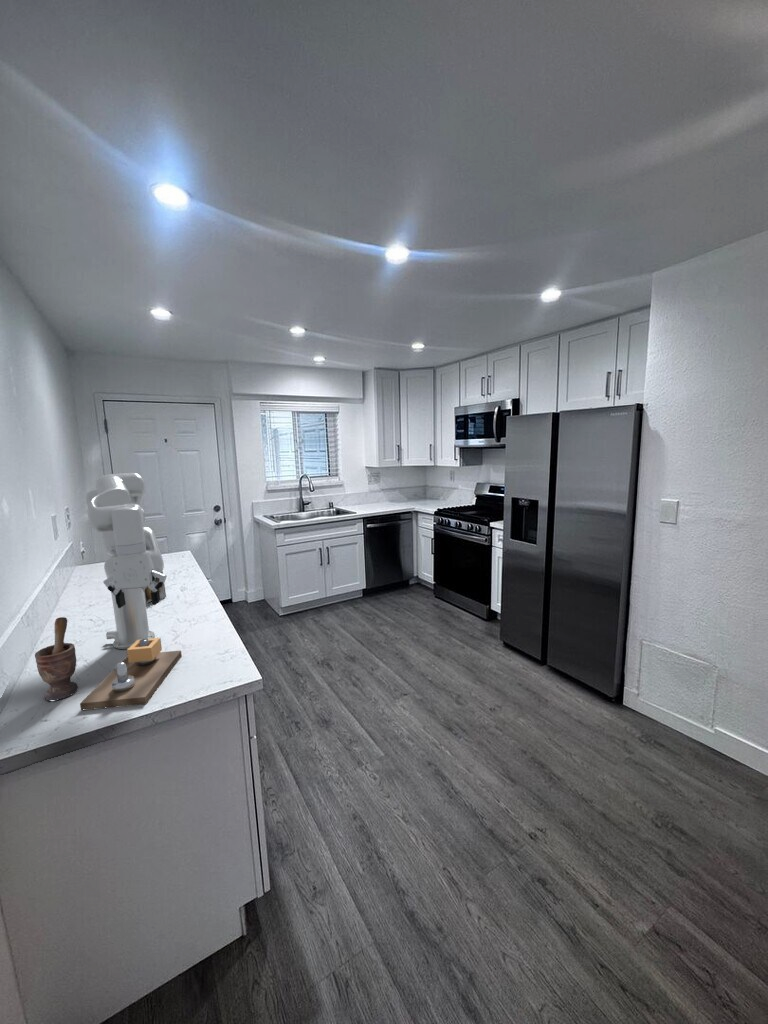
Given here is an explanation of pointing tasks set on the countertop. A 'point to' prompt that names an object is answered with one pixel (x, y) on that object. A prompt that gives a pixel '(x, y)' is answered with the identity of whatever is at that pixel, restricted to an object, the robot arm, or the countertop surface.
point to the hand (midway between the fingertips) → (139, 605)
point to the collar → (144, 650)
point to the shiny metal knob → (144, 663)
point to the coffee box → (148, 591)
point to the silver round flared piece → (122, 679)
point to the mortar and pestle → (58, 664)
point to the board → (144, 683)
